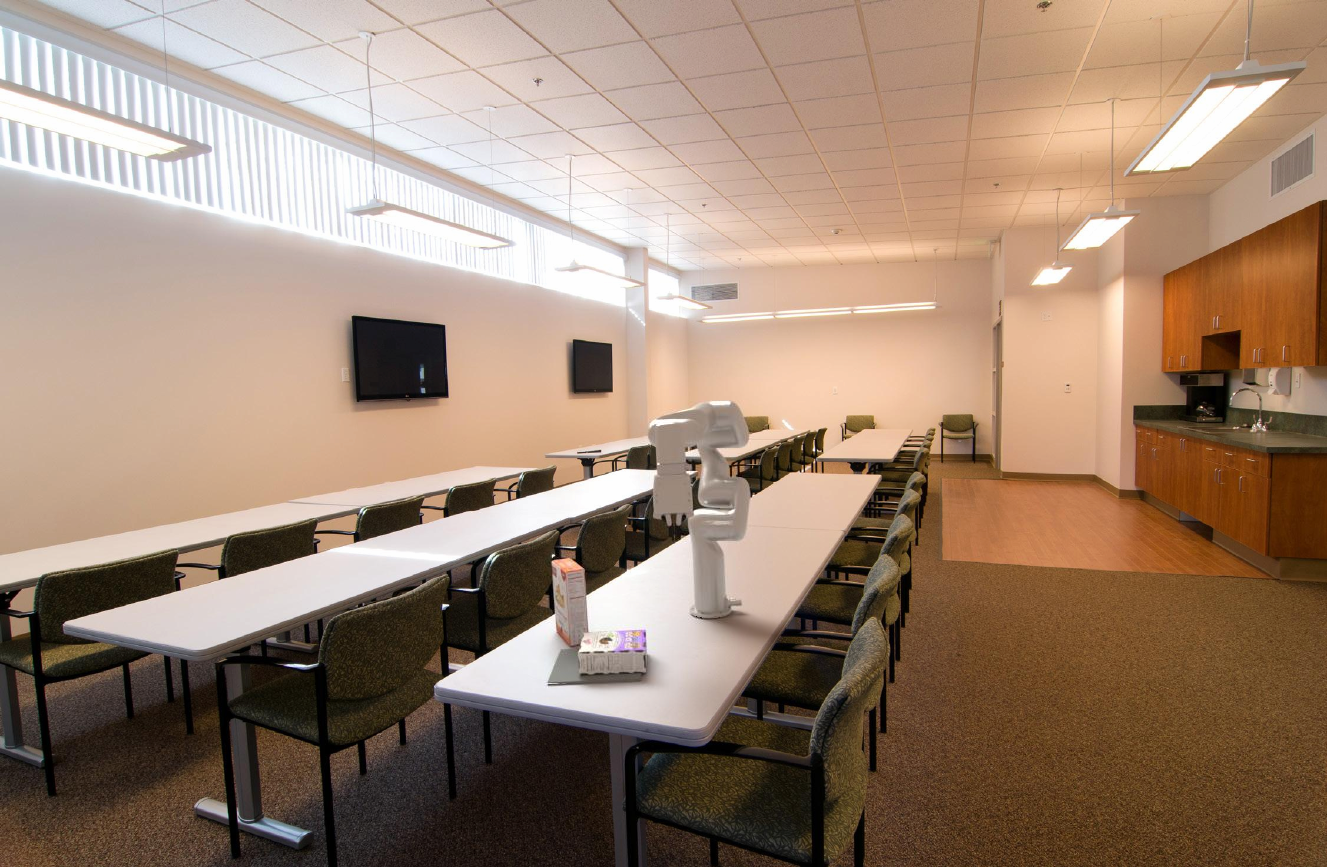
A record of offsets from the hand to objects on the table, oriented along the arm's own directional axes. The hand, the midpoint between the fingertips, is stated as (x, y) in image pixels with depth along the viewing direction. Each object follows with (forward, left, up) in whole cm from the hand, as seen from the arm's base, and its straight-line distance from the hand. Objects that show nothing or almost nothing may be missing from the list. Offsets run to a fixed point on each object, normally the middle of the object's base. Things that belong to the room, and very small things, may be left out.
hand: (674, 539), depth 173 cm
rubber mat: (+20, +8, -29) cm, 36 cm away
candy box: (+8, +8, -26) cm, 28 cm away
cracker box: (+30, -12, -29) cm, 44 cm away
